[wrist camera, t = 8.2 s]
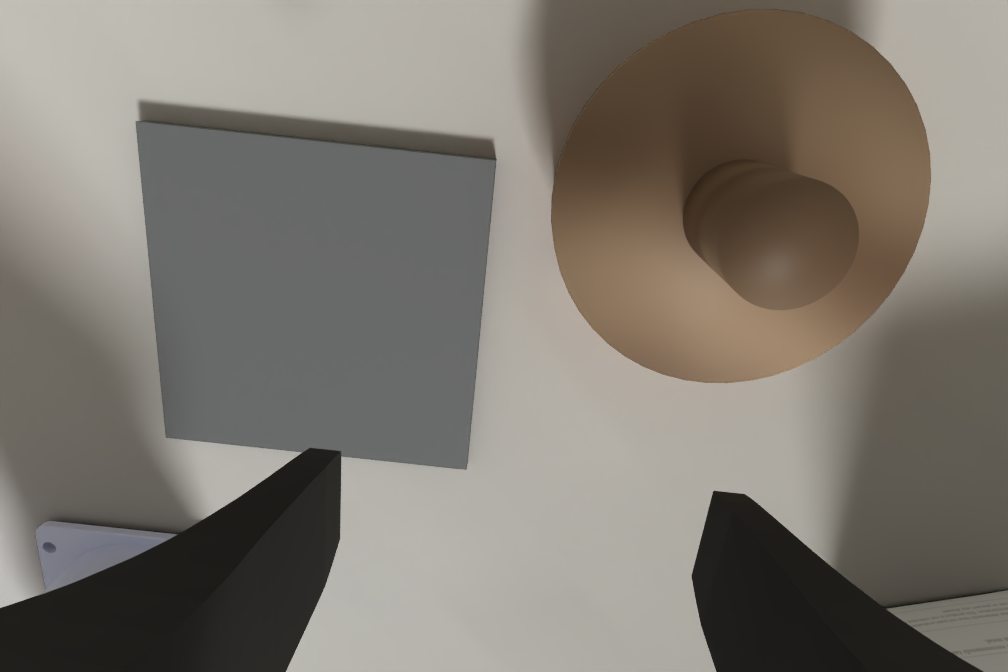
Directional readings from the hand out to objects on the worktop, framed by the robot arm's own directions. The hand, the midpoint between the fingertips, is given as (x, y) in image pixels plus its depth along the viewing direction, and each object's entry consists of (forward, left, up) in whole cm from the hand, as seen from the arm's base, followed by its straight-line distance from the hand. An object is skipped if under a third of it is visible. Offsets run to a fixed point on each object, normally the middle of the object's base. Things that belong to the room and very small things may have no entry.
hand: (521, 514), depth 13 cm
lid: (+5, -5, -7) cm, 10 cm away
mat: (0, +7, -10) cm, 13 cm away
